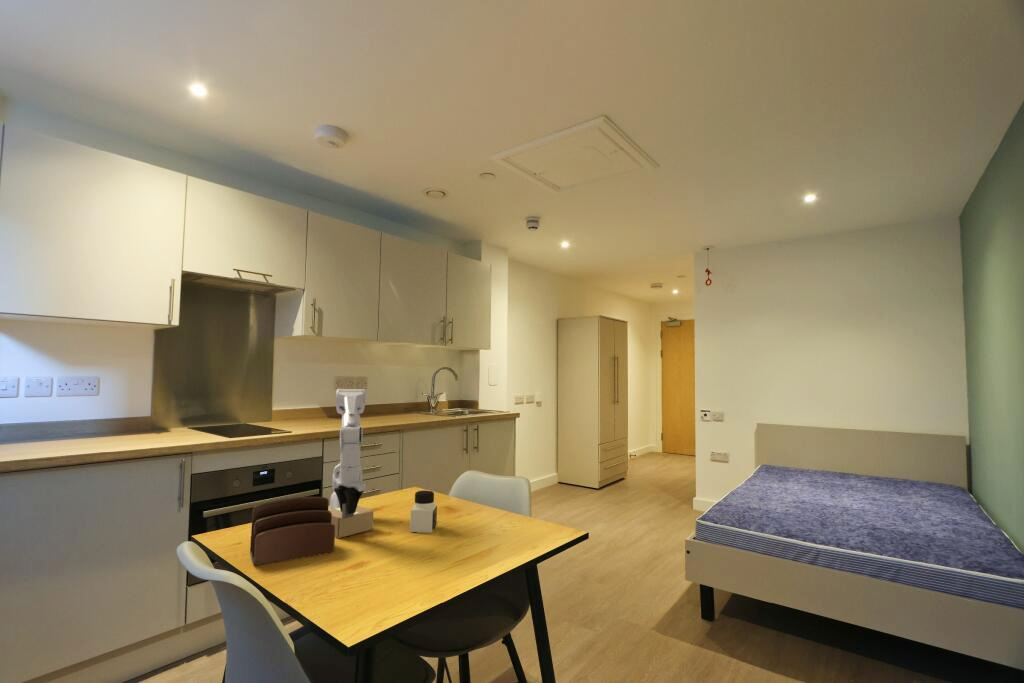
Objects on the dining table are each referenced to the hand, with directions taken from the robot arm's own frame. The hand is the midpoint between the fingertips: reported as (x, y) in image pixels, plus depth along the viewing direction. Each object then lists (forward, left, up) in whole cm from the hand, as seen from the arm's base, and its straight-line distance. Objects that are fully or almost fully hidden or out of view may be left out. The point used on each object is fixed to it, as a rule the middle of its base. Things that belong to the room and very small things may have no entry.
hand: (348, 512), depth 148 cm
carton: (-6, +4, -7) cm, 10 cm away
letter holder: (+1, -17, -8) cm, 19 cm away
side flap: (0, +3, -7) cm, 8 cm away
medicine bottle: (+11, +20, -8) cm, 24 cm away
